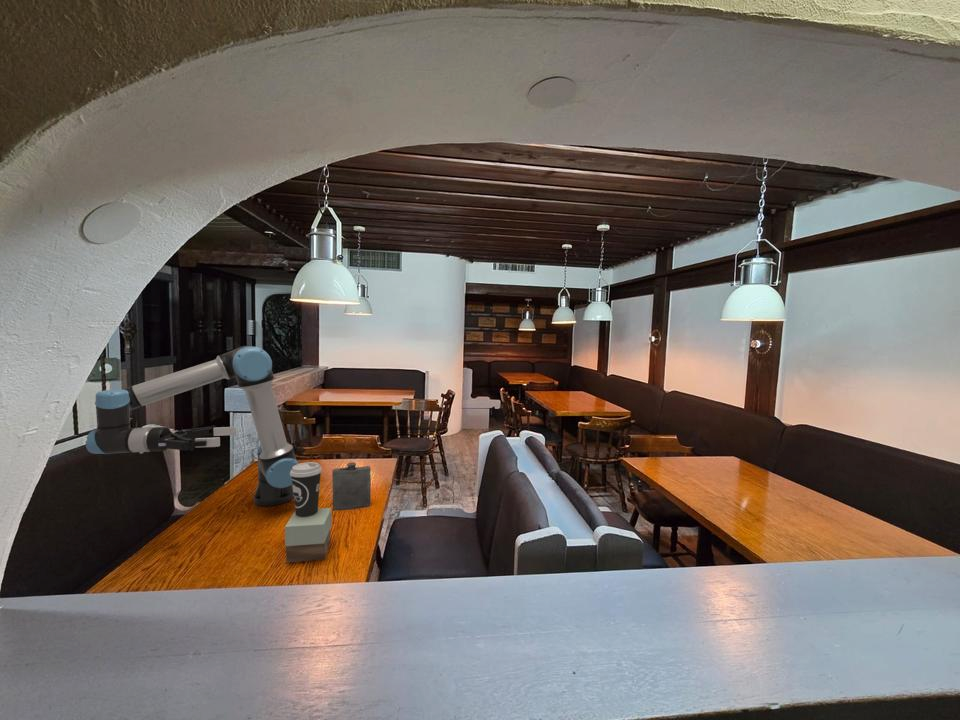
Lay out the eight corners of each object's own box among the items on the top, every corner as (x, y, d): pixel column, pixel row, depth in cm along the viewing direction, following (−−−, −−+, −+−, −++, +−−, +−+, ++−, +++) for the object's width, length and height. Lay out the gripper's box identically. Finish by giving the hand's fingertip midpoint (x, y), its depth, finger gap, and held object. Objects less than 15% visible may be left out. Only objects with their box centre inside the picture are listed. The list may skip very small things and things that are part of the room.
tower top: (296, 527, 127) (295, 510, 126) (331, 525, 129) (331, 507, 128) (285, 546, 116) (284, 526, 116) (324, 543, 118) (323, 524, 117)
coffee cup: (319, 517, 121) (318, 469, 120) (286, 519, 119) (285, 471, 119) (325, 505, 130) (324, 460, 130) (295, 507, 129) (294, 462, 128)
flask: (370, 507, 155) (370, 463, 154) (332, 511, 151) (331, 466, 150) (370, 503, 158) (370, 460, 157) (333, 507, 154) (332, 463, 153)
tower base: (294, 544, 128) (294, 526, 127) (330, 540, 130) (330, 523, 130) (286, 564, 117) (285, 545, 117) (325, 559, 120) (324, 541, 119)
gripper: (172, 440, 135) (241, 437, 140) (127, 464, 110) (212, 459, 116) (172, 418, 134) (240, 416, 139) (125, 438, 110) (211, 434, 115)
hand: (228, 436), depth 127 cm, fingers open, 13 cm apart
